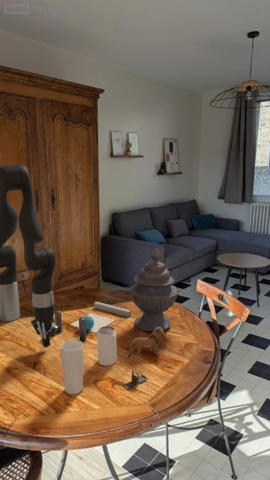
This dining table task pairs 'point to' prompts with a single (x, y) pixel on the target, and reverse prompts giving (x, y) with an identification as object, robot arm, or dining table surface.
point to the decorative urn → (153, 294)
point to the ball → (89, 322)
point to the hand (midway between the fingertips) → (46, 346)
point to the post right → (82, 329)
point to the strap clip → (135, 380)
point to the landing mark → (96, 322)
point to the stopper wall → (112, 309)
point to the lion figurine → (148, 341)
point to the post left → (58, 321)
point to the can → (106, 345)
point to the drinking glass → (72, 365)
